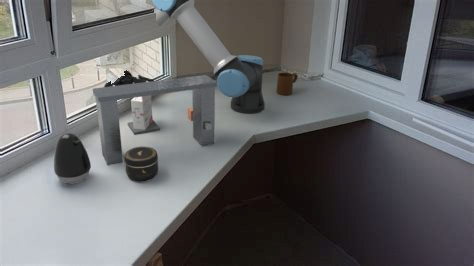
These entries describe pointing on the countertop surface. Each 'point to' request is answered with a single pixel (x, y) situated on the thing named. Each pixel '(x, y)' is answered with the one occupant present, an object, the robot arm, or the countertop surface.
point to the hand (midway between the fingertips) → (135, 91)
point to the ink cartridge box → (141, 112)
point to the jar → (141, 163)
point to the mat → (150, 128)
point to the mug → (285, 83)
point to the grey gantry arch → (109, 95)
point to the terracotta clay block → (190, 117)
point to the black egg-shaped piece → (71, 159)
